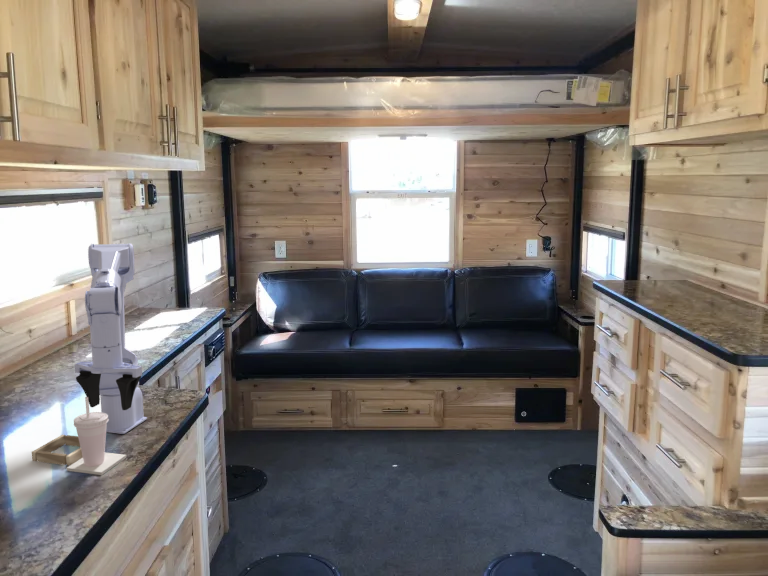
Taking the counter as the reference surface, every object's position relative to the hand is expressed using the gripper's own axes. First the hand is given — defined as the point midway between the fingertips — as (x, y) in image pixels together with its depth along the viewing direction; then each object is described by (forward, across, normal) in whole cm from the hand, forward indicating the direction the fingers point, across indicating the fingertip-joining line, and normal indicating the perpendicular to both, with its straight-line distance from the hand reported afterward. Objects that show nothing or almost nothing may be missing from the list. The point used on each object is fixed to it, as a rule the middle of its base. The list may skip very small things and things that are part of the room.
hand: (110, 407), depth 130 cm
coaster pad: (+10, 0, -5) cm, 12 cm away
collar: (+10, -10, -2) cm, 14 cm away
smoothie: (+10, 0, -6) cm, 12 cm away
